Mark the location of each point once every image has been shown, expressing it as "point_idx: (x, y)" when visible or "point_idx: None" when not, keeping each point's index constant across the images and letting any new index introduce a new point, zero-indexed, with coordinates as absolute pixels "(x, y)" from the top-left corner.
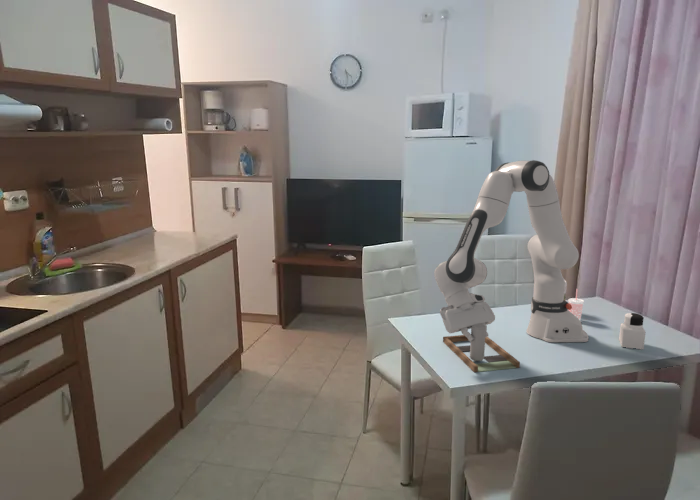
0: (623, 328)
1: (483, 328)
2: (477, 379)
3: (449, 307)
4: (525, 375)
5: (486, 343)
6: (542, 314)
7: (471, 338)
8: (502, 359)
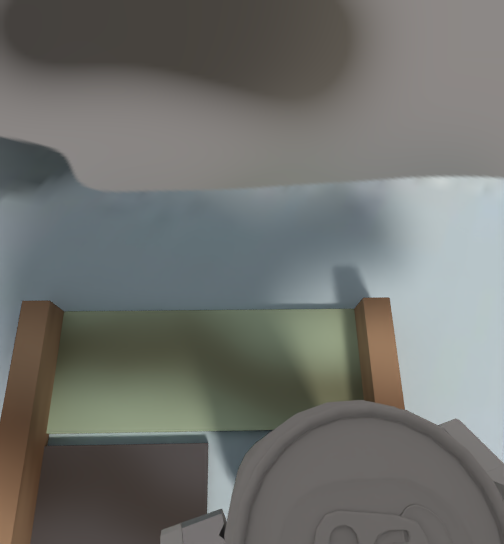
0: None
1: (315, 416)
2: (387, 222)
3: None
4: (80, 212)
5: None
6: None
7: (464, 425)
8: (77, 463)
